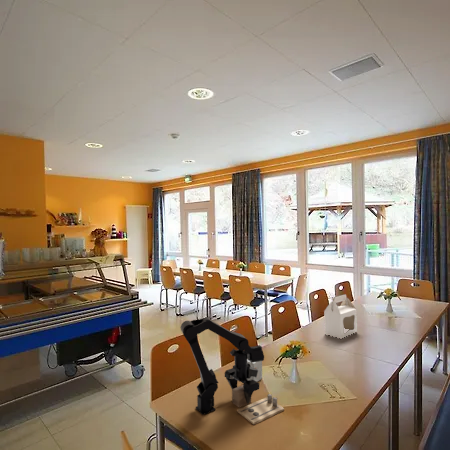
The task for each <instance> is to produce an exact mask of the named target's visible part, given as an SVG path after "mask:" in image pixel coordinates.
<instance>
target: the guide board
mask: <svg viewBox="0 0 450 450" xmlns="http://www.w3.org/2000/svg"><path fill="white" fill-rule="evenodd" d="M283 411H285V408H284V407H283V406H282V405H280V404H278V398H277V397H273V395H272V394H270V393H269V394H267V396H266V397H264V398H262V399H259V400H257V401H253V403H252V402H251V403H249V404H246V405H244V406H242V407H239V408H238V409H236V412H237V413H238V414H239V415H241V416H242V417H243V418H245V419H246V420H247V421H248V422H249V423H251V424H252V425H253V426H254V425H257V424H258V423H261V422H263V421H265V420H267V419H269V418H271V417H273V416H275V415H277V414H279V413H281V412H283Z"/></svg>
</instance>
